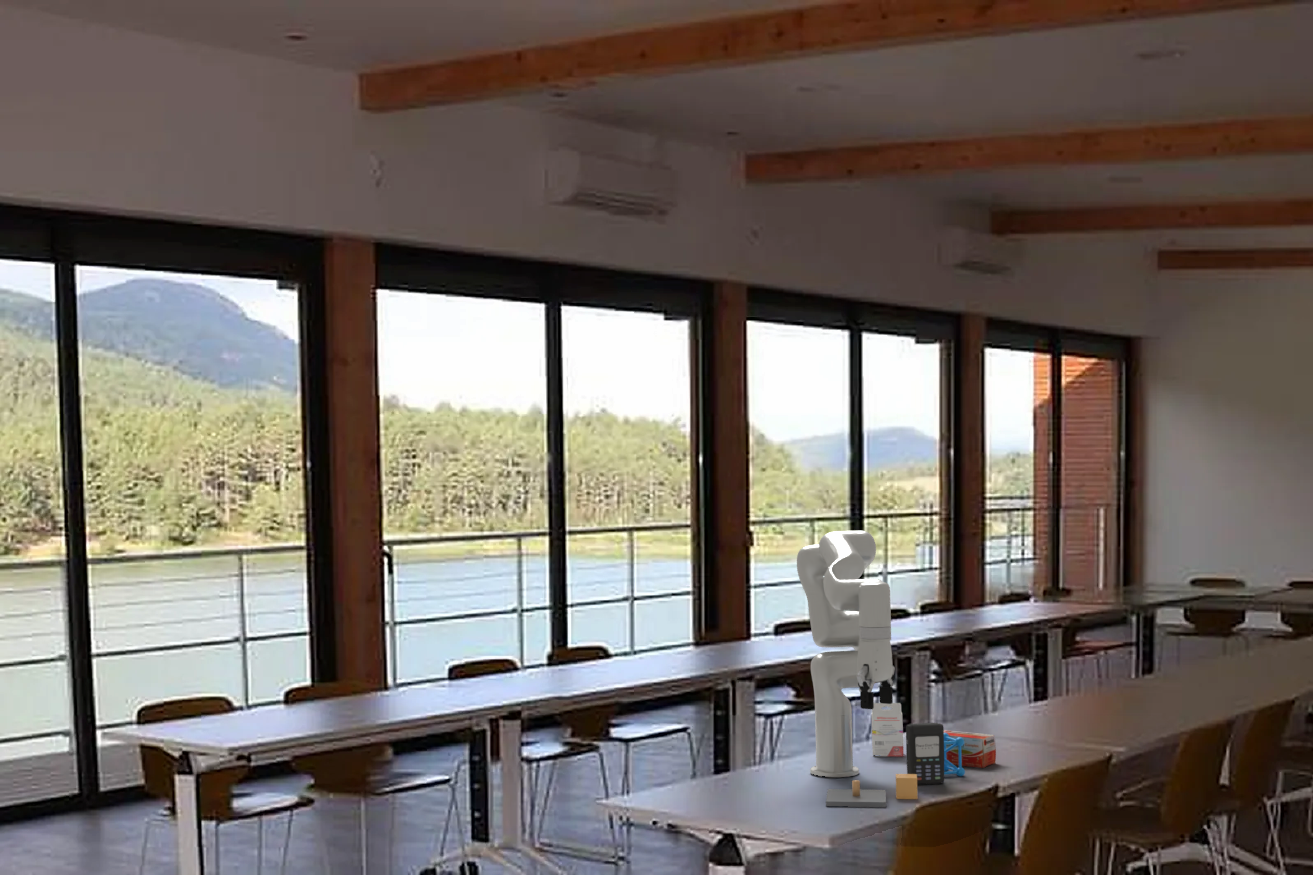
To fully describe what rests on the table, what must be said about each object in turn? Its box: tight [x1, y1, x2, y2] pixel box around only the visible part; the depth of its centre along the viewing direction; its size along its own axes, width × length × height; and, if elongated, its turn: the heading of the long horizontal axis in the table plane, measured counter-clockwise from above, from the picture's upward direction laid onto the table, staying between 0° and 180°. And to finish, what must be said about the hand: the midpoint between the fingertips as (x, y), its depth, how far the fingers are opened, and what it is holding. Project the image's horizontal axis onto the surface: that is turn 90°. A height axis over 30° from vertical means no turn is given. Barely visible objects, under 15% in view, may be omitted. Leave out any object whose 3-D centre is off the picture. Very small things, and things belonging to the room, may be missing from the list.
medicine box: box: [944, 729, 997, 769], centre depth 411 cm, size 15×8×8 cm, turn 54°
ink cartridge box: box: [870, 702, 904, 758], centre depth 425 cm, size 9×5×15 cm, turn 81°
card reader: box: [905, 722, 945, 786], centre depth 385 cm, size 9×4×15 cm, turn 99°
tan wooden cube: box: [895, 773, 919, 800], centre depth 370 cm, size 5×5×5 cm
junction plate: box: [825, 779, 887, 808], centre depth 367 cm, size 14×14×5 cm
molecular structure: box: [944, 733, 966, 777], centre depth 396 cm, size 10×10×10 cm
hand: (876, 706), depth 365 cm, fingers open, 9 cm apart
